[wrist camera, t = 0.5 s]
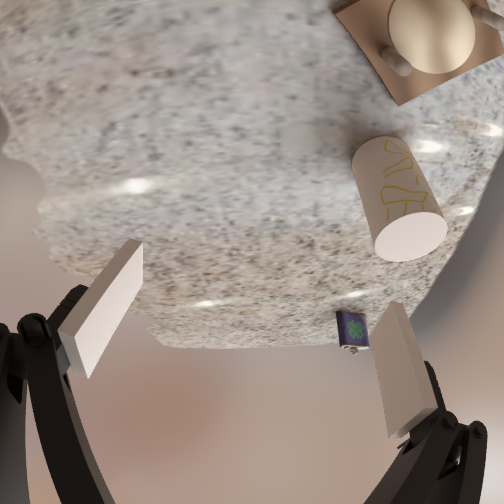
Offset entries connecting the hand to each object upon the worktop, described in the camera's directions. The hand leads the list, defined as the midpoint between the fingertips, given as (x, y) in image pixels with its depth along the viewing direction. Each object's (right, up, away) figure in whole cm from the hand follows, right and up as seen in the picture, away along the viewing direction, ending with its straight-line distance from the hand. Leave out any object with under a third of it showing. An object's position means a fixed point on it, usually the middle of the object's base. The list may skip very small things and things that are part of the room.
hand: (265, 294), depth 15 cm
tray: (+16, +24, +4) cm, 29 cm away
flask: (+24, -13, +57) cm, 63 cm away
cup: (+15, +13, +19) cm, 28 cm away
